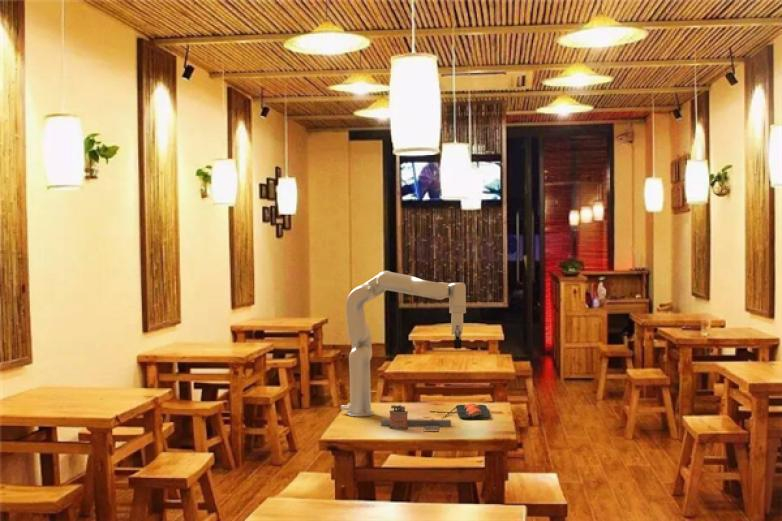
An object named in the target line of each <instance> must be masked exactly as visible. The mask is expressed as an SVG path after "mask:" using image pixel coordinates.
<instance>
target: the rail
mask: <svg viewBox="0 0 782 521" xmlns="http://www.w3.org/2000/svg"><path fill="white" fill-rule="evenodd" d="M380 424H381V427H390V418H381V422H380ZM407 425H408V427H425V425H439V427H451V426H452V419H442V420H441V419H435V418H434V417H431V418H430V419H418V418H417V419H415V418H414V419H413V418H411V419H409V418H407Z"/></svg>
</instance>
